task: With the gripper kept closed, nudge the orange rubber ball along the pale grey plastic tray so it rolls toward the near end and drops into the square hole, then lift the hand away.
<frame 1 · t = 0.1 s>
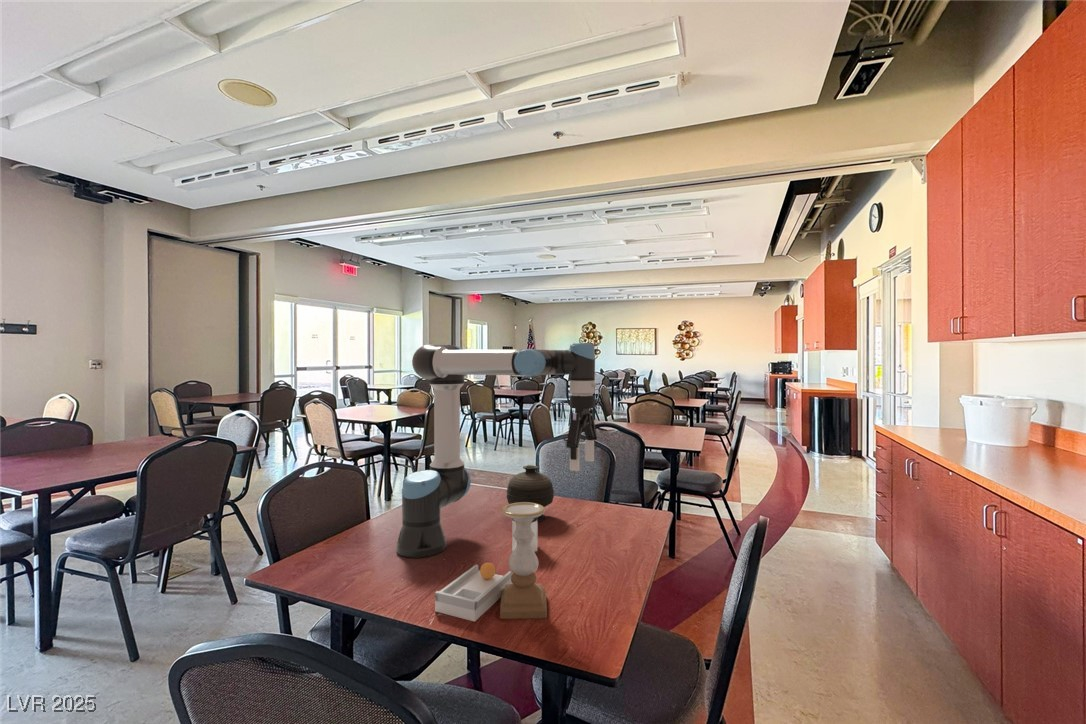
hand: (582, 465, 142), 28 cm above the table, fingers open, 13 cm apart
pot: (530, 518, 179), on the table
ball: (487, 570, 124), point 4 cm above the table, touching tray
candle holder: (523, 607, 115), on the table
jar: (524, 549, 150), on the table
tray: (475, 598, 118), on the table
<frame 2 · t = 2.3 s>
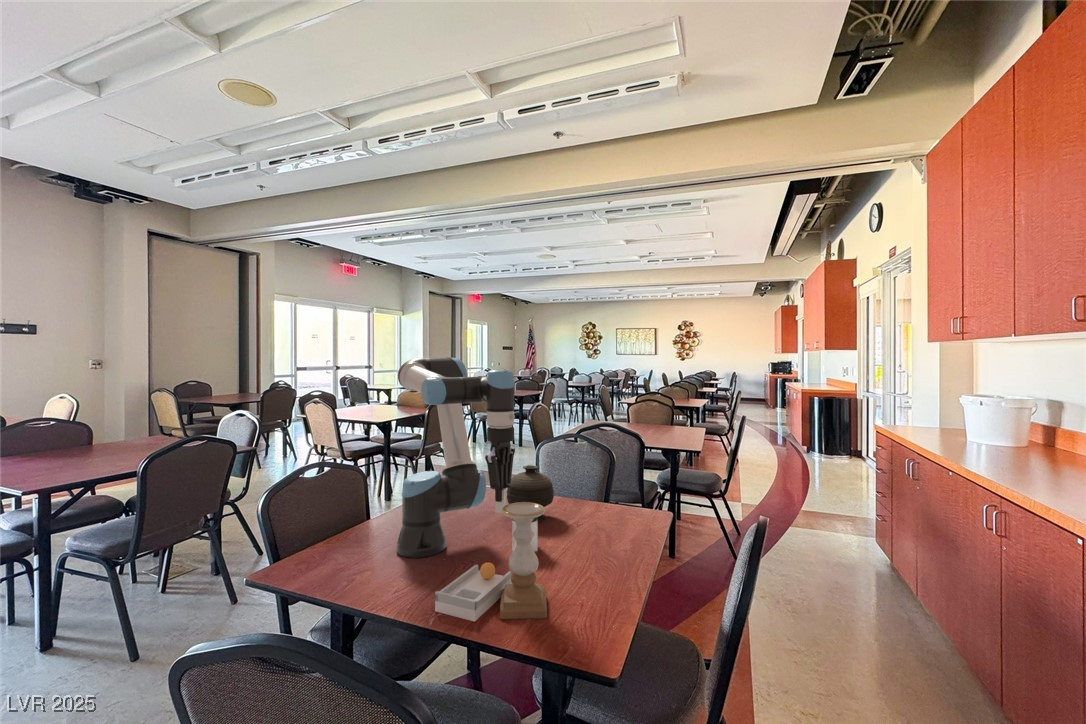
hand: (500, 512, 130), 18 cm above the table, fingers closed
nothing on the table moved.
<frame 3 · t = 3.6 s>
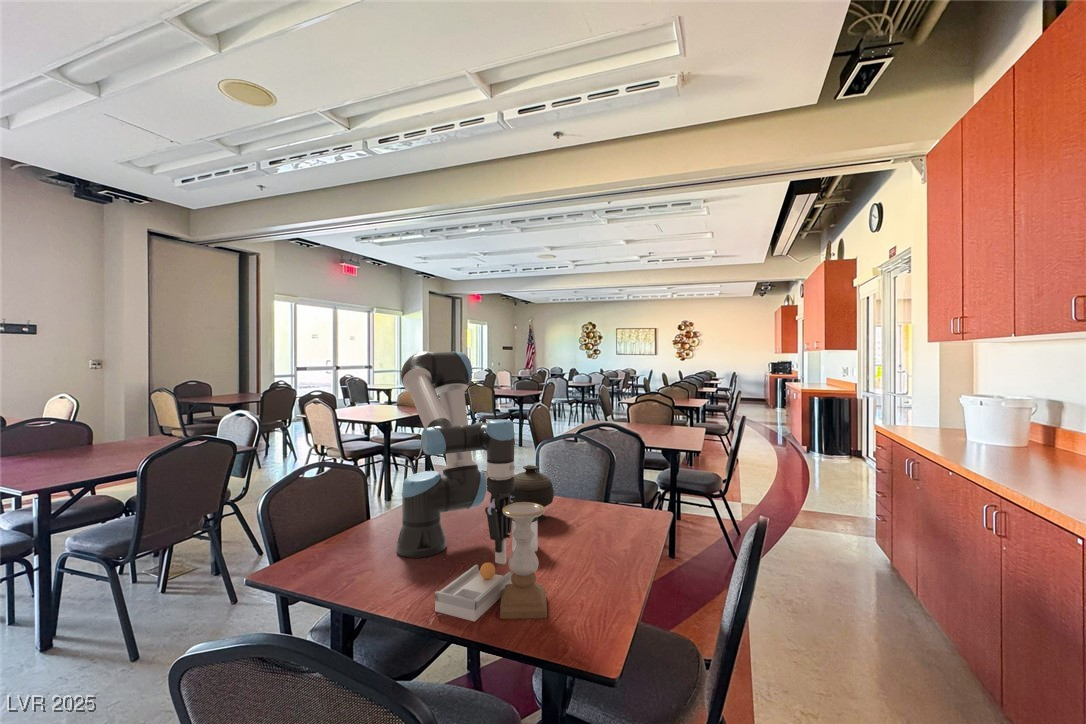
hand: (500, 562, 130), 4 cm above the table, fingers closed
nothing on the table moved.
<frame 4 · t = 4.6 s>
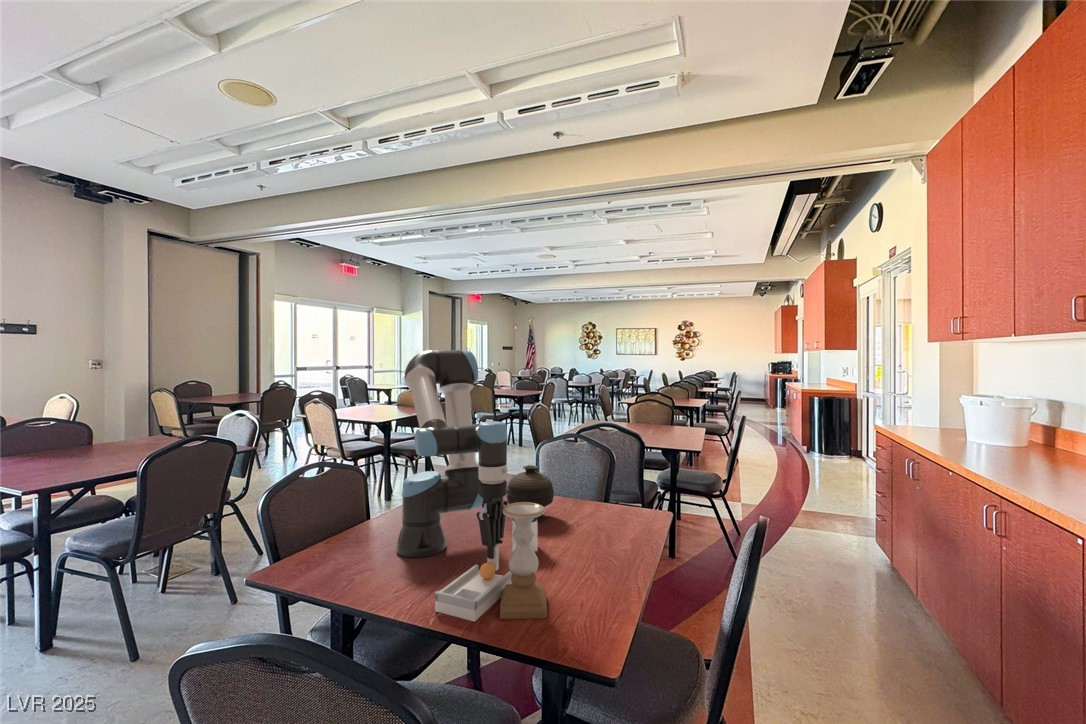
hand: (493, 568, 126), 4 cm above the table, fingers closed
ball: (487, 571, 124), point 5 cm above the table, touching gripper
everything else where it was.
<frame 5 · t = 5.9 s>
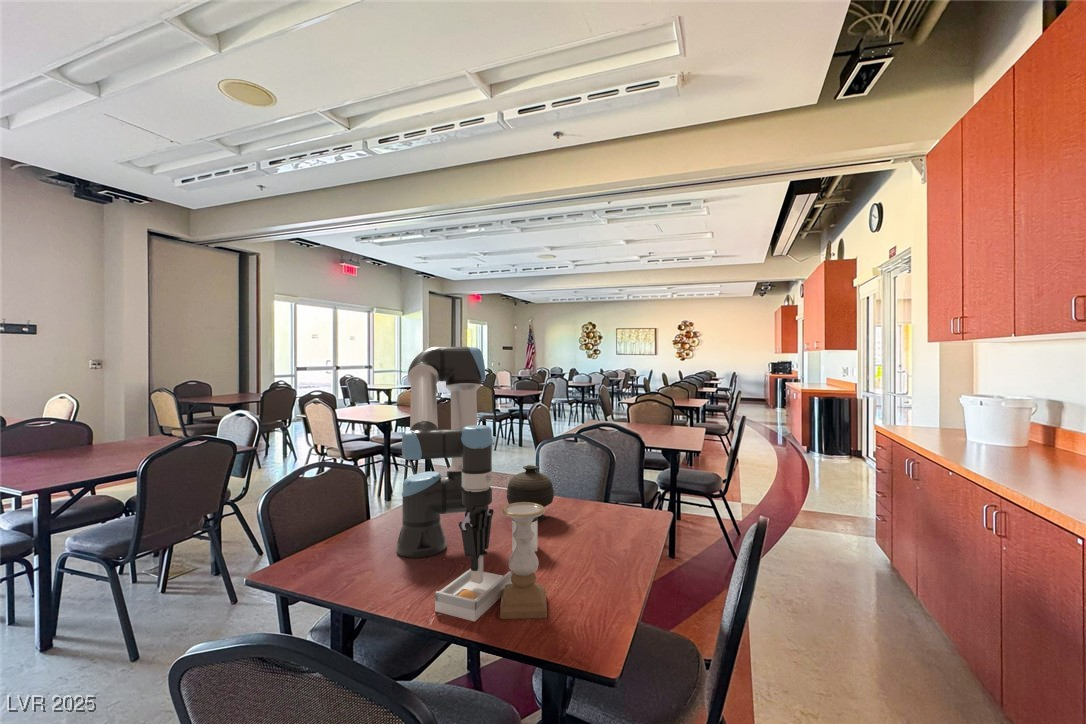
hand: (477, 581, 119), 4 cm above the table, fingers closed
ball: (465, 599, 114), point 2 cm above the table, tilted 25°
everything else where it was.
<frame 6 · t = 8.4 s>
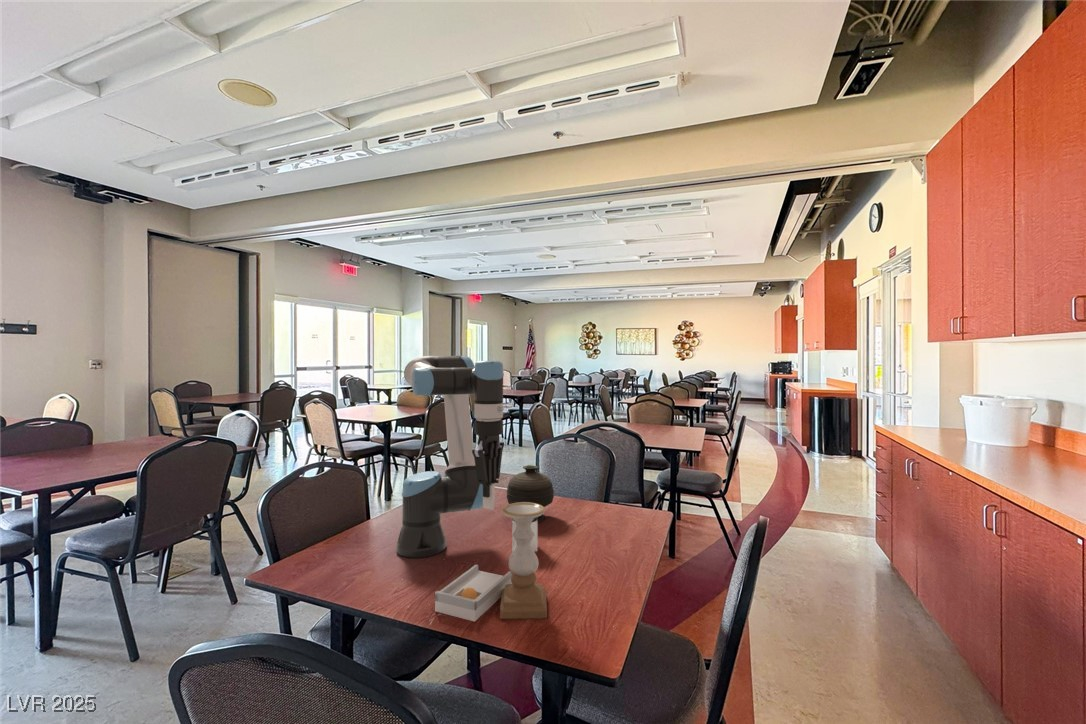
hand: (488, 508, 125), 20 cm above the table, fingers closed
ball: (468, 596, 115), point 2 cm above the table, tilted 62°
everything else where it was.
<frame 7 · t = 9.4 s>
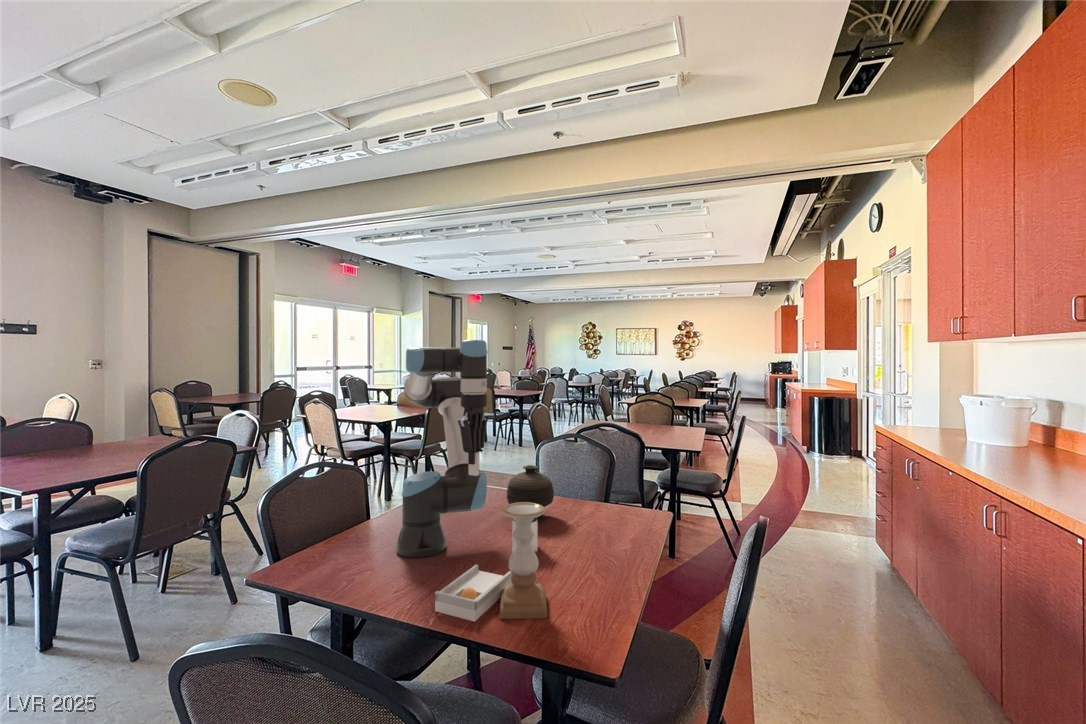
hand: (473, 474, 137), 26 cm above the table, fingers closed
nothing on the table moved.
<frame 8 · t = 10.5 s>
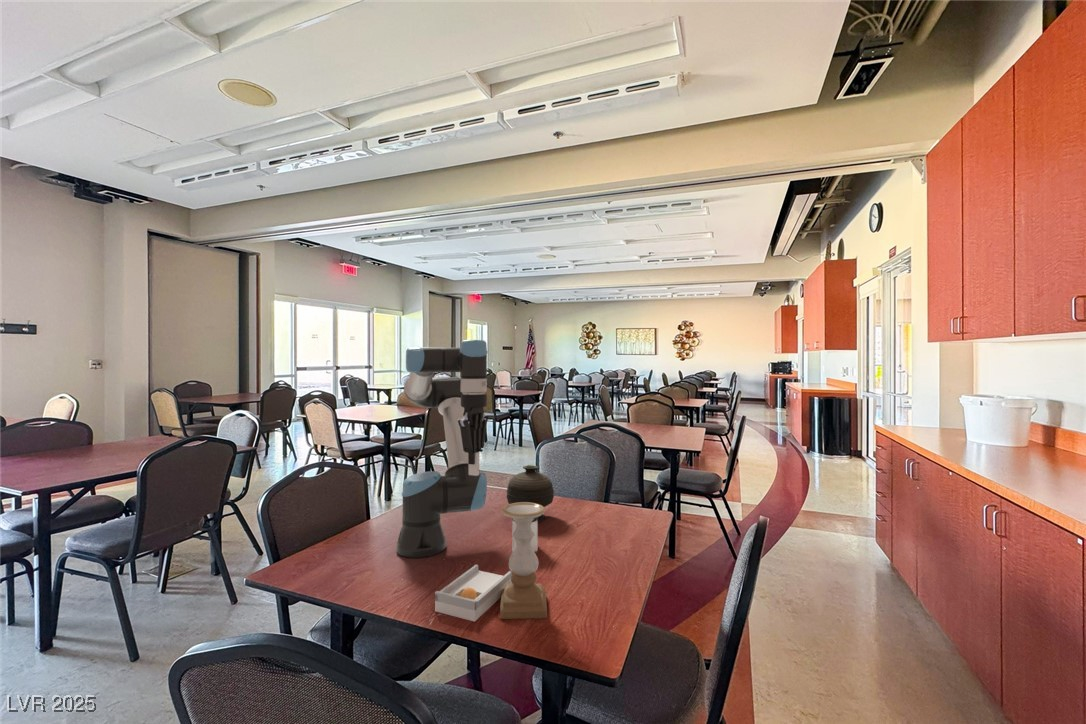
hand: (473, 474, 137), 26 cm above the table, fingers closed
nothing on the table moved.
at the end: ball 0.6 cm from the target spot on the tray, point 2.0 cm above the tray's base; the gripper is holding nothing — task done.
